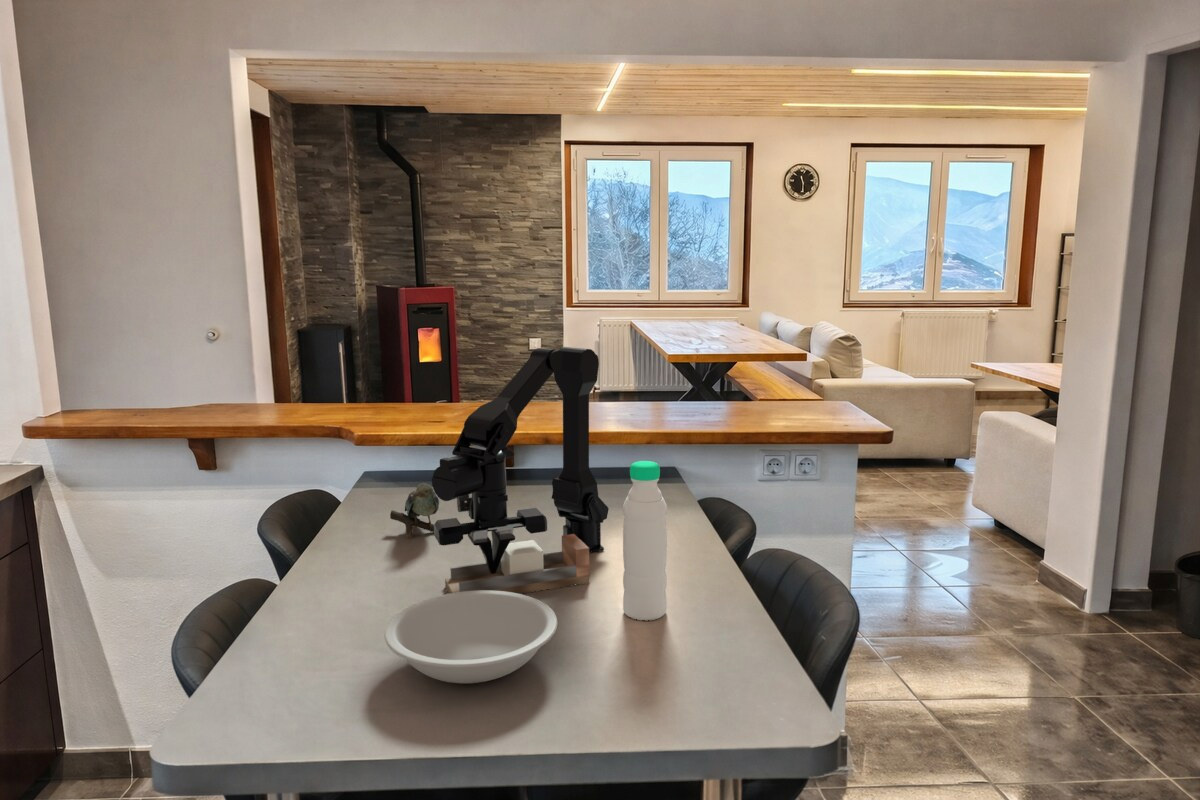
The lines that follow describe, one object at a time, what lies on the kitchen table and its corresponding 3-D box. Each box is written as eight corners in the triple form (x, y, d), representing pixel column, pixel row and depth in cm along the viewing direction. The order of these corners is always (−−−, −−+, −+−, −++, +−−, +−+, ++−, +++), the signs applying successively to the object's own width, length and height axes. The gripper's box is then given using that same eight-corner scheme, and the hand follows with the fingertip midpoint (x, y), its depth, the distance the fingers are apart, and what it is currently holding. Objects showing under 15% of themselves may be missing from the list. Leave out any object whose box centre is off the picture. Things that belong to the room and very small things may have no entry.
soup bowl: (576, 637, 130) (576, 596, 129) (528, 722, 107) (527, 673, 106) (430, 623, 136) (428, 584, 134) (354, 701, 113) (351, 654, 112)
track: (574, 567, 158) (574, 533, 157) (589, 583, 151) (589, 548, 150) (445, 586, 150) (443, 551, 149) (454, 604, 143) (453, 567, 141)
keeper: (533, 566, 154) (533, 539, 153) (543, 578, 149) (543, 550, 148) (501, 571, 152) (500, 544, 151) (510, 583, 147) (509, 555, 146)
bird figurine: (388, 516, 187) (388, 450, 174) (434, 512, 190) (437, 448, 177) (392, 564, 177) (392, 499, 165) (440, 560, 180) (444, 495, 167)
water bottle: (671, 607, 141) (672, 459, 136) (660, 624, 134) (660, 470, 130) (630, 601, 143) (630, 456, 138) (617, 618, 136) (616, 467, 132)
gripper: (529, 469, 156) (531, 550, 159) (426, 480, 150) (430, 564, 153) (547, 485, 146) (549, 571, 149) (437, 497, 139) (442, 587, 142)
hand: (492, 573), depth 148 cm, fingers closed
